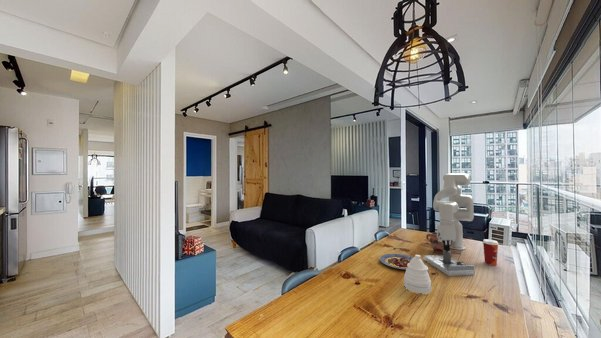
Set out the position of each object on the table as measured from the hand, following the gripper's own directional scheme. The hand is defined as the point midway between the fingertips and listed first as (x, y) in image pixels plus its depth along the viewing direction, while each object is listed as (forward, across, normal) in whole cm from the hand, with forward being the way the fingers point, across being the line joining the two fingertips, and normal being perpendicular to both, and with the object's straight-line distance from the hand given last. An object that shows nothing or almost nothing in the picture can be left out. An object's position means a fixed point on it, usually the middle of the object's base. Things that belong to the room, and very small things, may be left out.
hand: (446, 250), depth 146 cm
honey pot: (+11, +34, +23) cm, 42 cm away
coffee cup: (+11, -32, -2) cm, 34 cm away
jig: (+10, 0, 0) cm, 11 cm away
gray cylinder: (+10, 0, 0) cm, 11 cm away
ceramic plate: (+11, +27, -8) cm, 30 cm away
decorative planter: (+11, -13, -26) cm, 31 cm away
